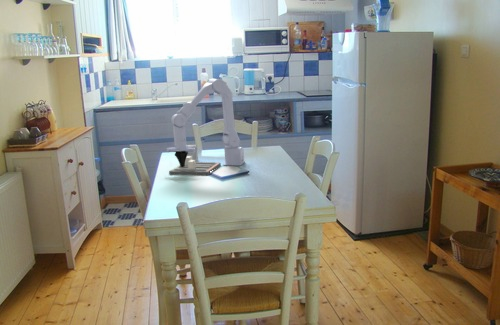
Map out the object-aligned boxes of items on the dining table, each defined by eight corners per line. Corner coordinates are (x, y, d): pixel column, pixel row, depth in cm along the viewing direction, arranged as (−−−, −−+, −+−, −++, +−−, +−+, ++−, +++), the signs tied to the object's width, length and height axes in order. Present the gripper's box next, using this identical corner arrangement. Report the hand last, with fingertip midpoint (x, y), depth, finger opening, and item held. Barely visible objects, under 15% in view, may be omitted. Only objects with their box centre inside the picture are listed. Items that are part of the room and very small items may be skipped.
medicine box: (198, 160, 247) (197, 144, 245) (196, 162, 242) (195, 146, 240) (184, 160, 248) (182, 145, 246) (182, 162, 243) (180, 146, 241)
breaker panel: (220, 165, 232) (220, 161, 232) (208, 175, 215) (207, 170, 215) (184, 165, 238) (183, 160, 237) (169, 174, 221) (168, 169, 220)
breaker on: (192, 163, 233) (192, 156, 232) (189, 165, 229) (189, 157, 228) (188, 163, 233) (187, 155, 232) (185, 165, 230) (184, 157, 229)
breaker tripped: (196, 167, 224) (195, 159, 223) (193, 169, 220) (192, 161, 219) (191, 167, 224) (190, 159, 224) (188, 169, 221) (187, 161, 220)
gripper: (162, 140, 218) (165, 168, 222) (190, 140, 214) (193, 168, 218) (169, 137, 225) (171, 164, 228) (196, 137, 221) (198, 165, 224)
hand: (182, 166), depth 223 cm, fingers closed
